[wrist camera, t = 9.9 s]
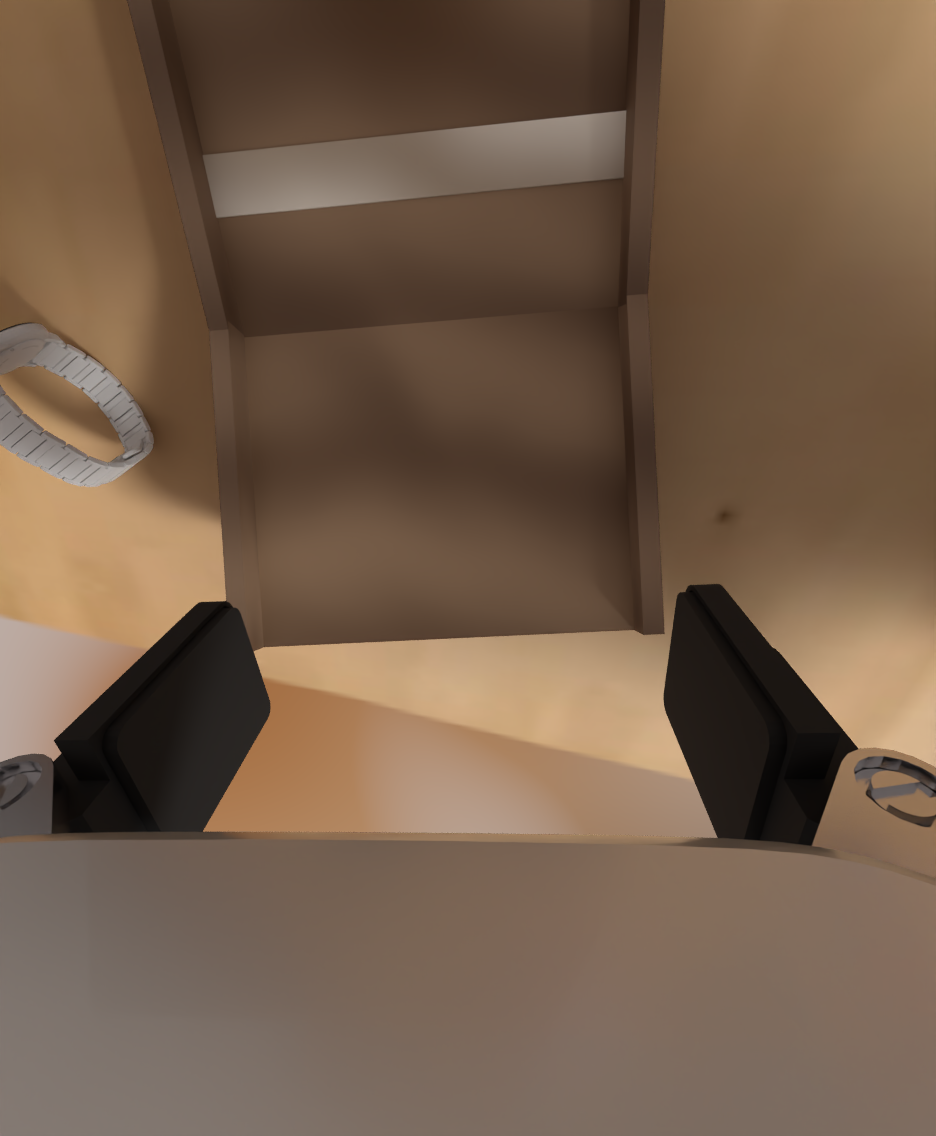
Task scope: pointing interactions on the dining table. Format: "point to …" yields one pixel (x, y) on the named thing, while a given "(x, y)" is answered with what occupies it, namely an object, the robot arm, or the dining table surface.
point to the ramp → (422, 307)
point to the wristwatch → (48, 350)
